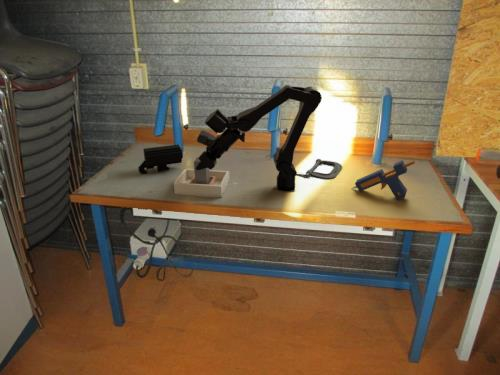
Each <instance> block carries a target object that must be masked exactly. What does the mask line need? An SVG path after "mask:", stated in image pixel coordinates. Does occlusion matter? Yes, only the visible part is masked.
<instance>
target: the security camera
mask: <svg viewBox="0 0 500 375" xmlns="http://www.w3.org/2000/svg"><path fill="white" fill-rule="evenodd" d="M183 153H184V152H183V149H182V148H181V146H180V144H171V145H170V144H169V145H163V146H161V145H160V146H155V147H154V146H153V147H148V148H143V156H144V160H143V161H142V162H141V163H140V164H139V166H137V167H138V172H139V174H141V175H146V174H148V171H147V170H154V169H155V167H156V169H157V170H156V171H157V172H158V173H162V172H166V171H167V172H168V171H170V167H169V166H168V165H176V164H182V162H183V157H184V155H183Z"/></svg>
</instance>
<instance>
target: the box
mask: <svg viewBox="0 0 500 375" xmlns="http://www.w3.org/2000/svg"><path fill="white" fill-rule="evenodd" d="M209 173H210V183H209V184H195V171H194V168H184V170H182V172H181V173H180V175H179V176H178V177H177V179H176V180H175V181H174V182H173V188H174V190H173V191H174V195H181V196H194V197H208V198H222V197H223V195H224V194H225V192H226V189H227V188H228V186H229V183H230V171H229V170H215V169H214V170H213V169H212V170H210V169H209Z"/></svg>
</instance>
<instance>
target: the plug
mask: <svg viewBox="0 0 500 375" xmlns="http://www.w3.org/2000/svg"><path fill="white" fill-rule="evenodd" d="M199 163H200V160H199V156H198V157H197V156H196V157H195V160H193V169H194V171H195V184H209V183H210V173H209V170H210V169H209V168H204V169H201V170H196V167H197V166H198V164H199Z"/></svg>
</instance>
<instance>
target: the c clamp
mask: <svg viewBox="0 0 500 375" xmlns="http://www.w3.org/2000/svg"><path fill="white" fill-rule="evenodd" d="M319 165H328V166H331V167H333V168H332V170H331V171H330V172H328V173H323V172H317V171H315V170H316V168H317V167H318V166H319ZM342 169H343V165H342V164H341V163H338V162H336V161H332V160H322V159H321V158H317V159H316V160H315V164H314V165H312V167H311V168H310V169H307V170H306V172H305V174H302V173H297V174H296V176H298V177H299V176H300V177H305V178H311V176H312V177H315V178H319V179H322V180H332V179H333V180H334V179H335V178H337V176H338V175H339V174H340V172H341V170H342Z"/></svg>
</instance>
